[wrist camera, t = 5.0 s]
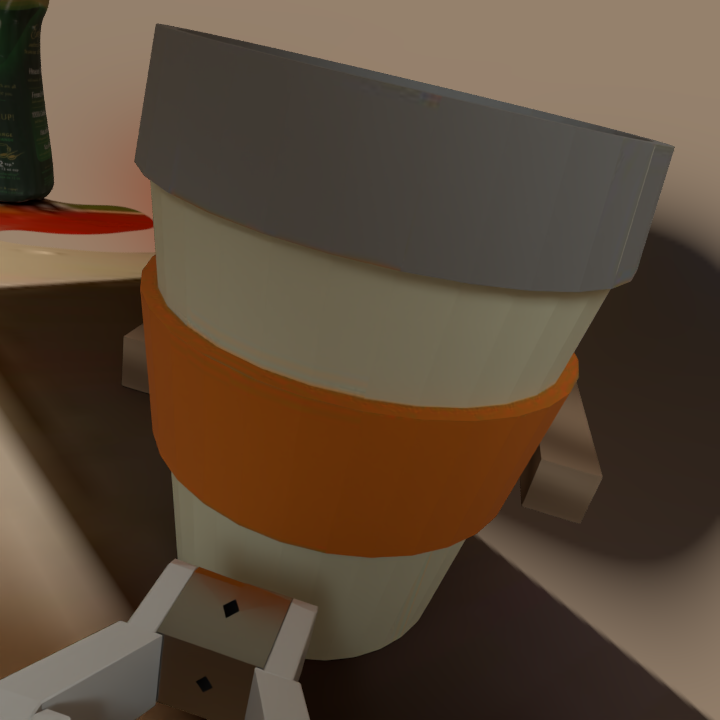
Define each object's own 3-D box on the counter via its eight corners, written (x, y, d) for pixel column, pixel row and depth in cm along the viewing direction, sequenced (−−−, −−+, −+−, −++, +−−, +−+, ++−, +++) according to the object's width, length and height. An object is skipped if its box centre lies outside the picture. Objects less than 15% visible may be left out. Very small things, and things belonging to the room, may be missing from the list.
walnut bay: (579, 523, 25) (638, 403, 23) (121, 385, 27) (126, 260, 25) (546, 351, 42) (577, 270, 40) (265, 273, 44) (277, 192, 42)
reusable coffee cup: (218, 409, 27) (264, 44, 21) (488, 493, 26) (628, 131, 20) (20, 629, 16) (-15, -14, 10) (478, 795, 15) (799, 183, 8)
